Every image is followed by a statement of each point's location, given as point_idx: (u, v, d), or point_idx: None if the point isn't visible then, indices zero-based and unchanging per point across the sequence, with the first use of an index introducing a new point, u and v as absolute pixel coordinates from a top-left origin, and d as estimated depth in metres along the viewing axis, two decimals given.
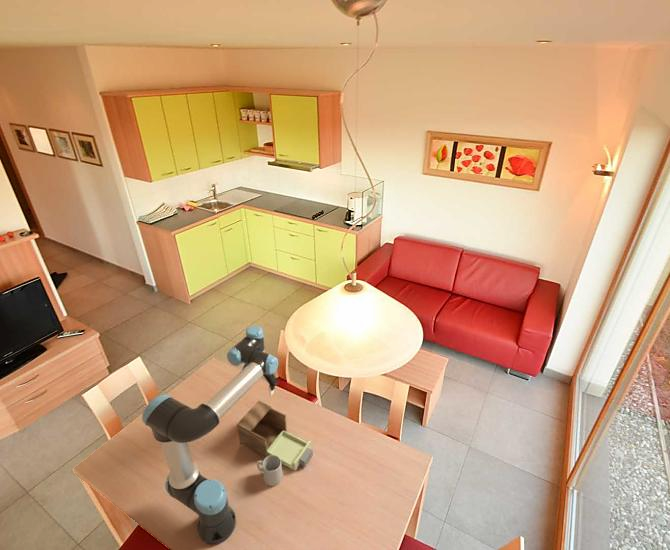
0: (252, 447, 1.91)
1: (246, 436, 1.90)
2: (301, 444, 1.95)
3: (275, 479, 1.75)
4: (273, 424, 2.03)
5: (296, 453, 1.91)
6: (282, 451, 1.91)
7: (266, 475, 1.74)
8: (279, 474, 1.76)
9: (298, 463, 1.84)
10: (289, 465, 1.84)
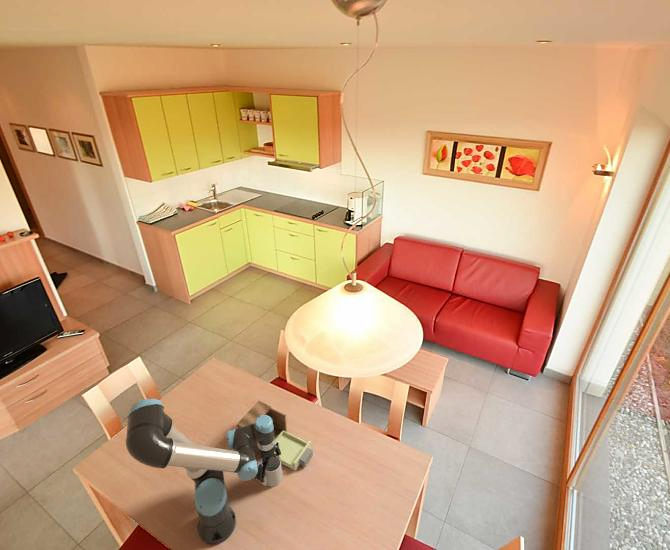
0: None
1: None
2: (301, 444, 1.95)
3: (275, 479, 1.75)
4: (273, 424, 2.03)
5: (296, 453, 1.91)
6: (282, 451, 1.91)
7: (266, 475, 1.74)
8: (279, 474, 1.76)
9: (298, 463, 1.84)
10: (289, 465, 1.84)
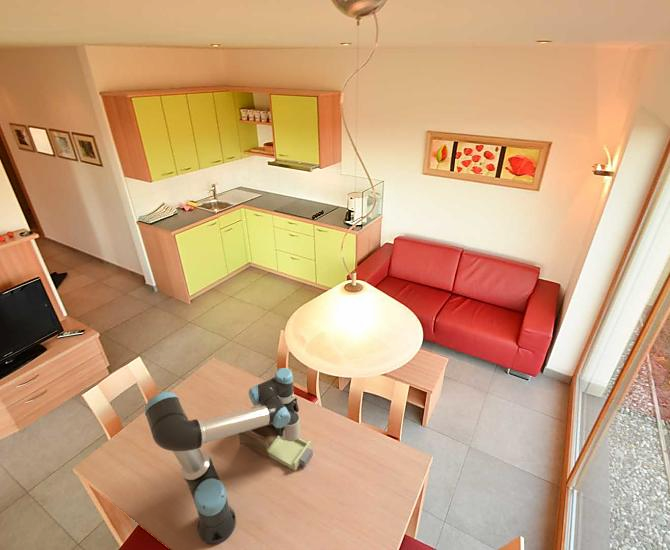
0: (252, 447, 1.91)
1: (246, 436, 1.90)
2: (301, 444, 1.95)
3: (293, 434, 1.79)
4: None
5: (296, 453, 1.91)
6: (282, 451, 1.91)
7: (285, 430, 1.77)
8: (297, 429, 1.79)
9: (298, 463, 1.84)
10: (289, 465, 1.84)
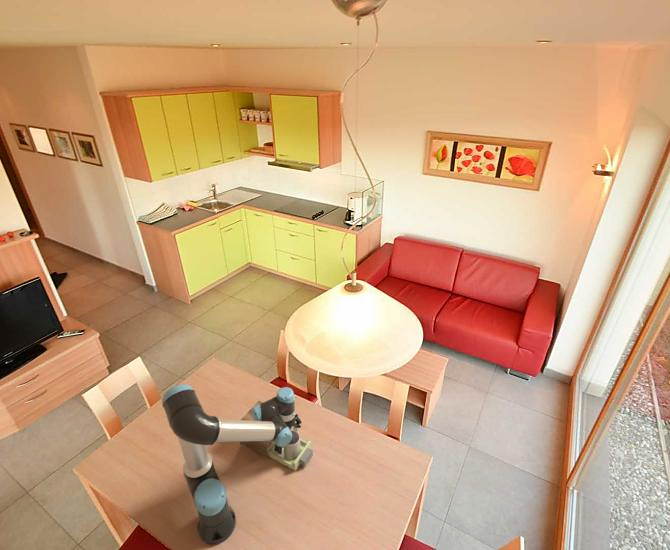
0: (252, 447, 1.91)
1: None
2: (301, 444, 1.95)
3: (294, 453, 1.85)
4: None
5: None
6: None
7: (286, 449, 1.84)
8: (298, 448, 1.86)
9: (298, 463, 1.84)
10: (289, 465, 1.84)
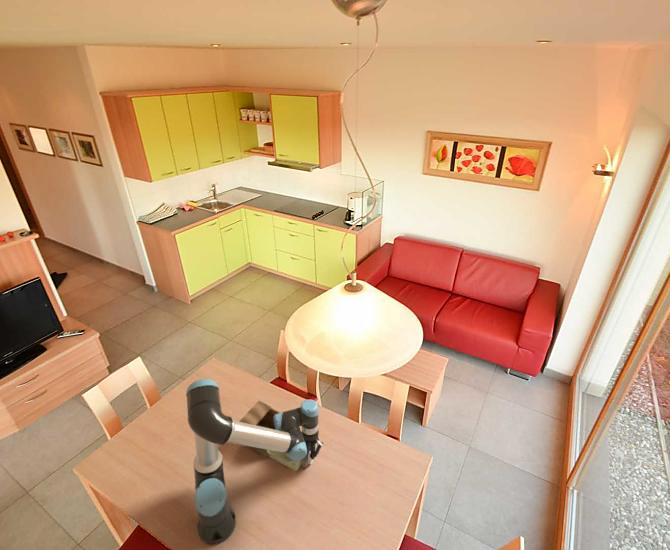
0: (252, 447, 1.91)
1: None
2: None
3: None
4: (273, 424, 2.03)
5: None
6: None
7: None
8: None
9: (299, 463, 1.84)
10: (290, 465, 1.84)
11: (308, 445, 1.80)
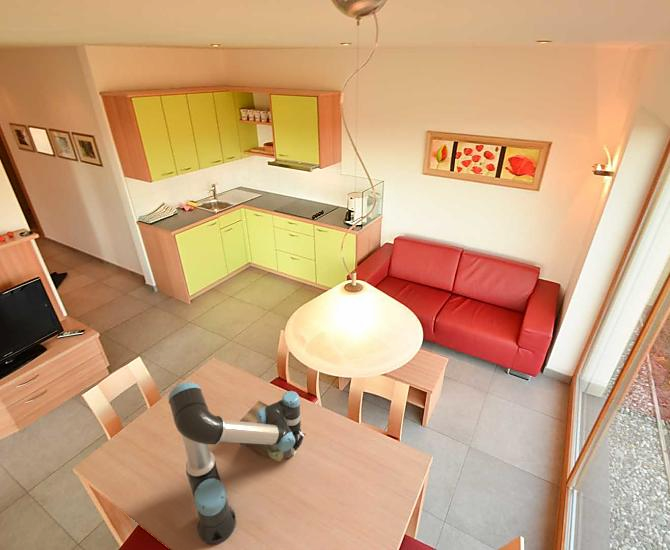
0: (252, 447, 1.91)
1: None
2: None
3: None
4: None
5: None
6: None
7: None
8: None
9: (282, 454, 1.88)
10: (273, 456, 1.88)
11: None
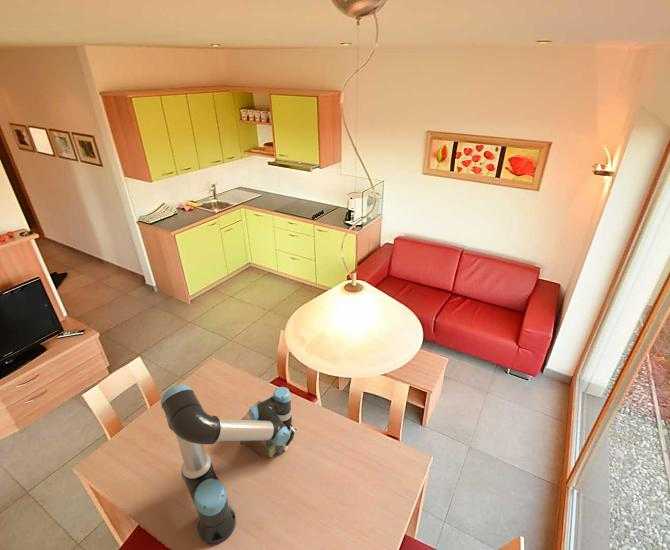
0: (252, 447, 1.91)
1: None
2: None
3: (270, 440, 1.91)
4: None
5: None
6: None
7: None
8: None
9: (274, 450, 1.90)
10: None
11: None
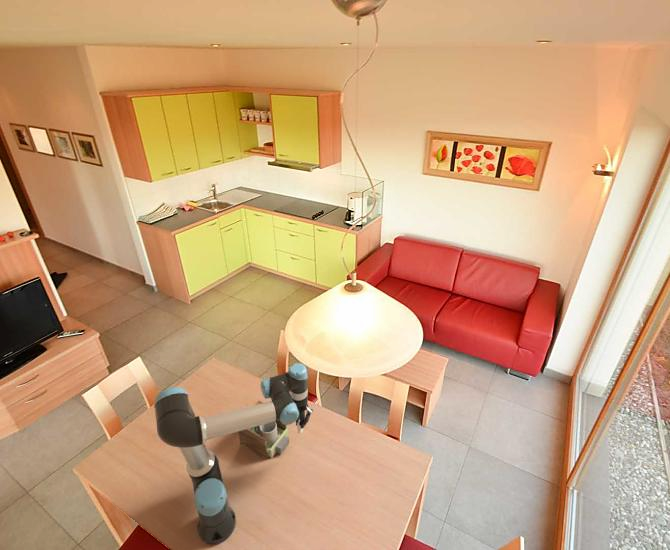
0: (252, 447, 1.91)
1: (246, 436, 1.90)
2: (279, 432, 2.01)
3: (271, 440, 1.91)
4: None
5: None
6: None
7: (263, 436, 1.90)
8: (275, 436, 1.92)
9: (274, 450, 1.90)
10: None
11: None
